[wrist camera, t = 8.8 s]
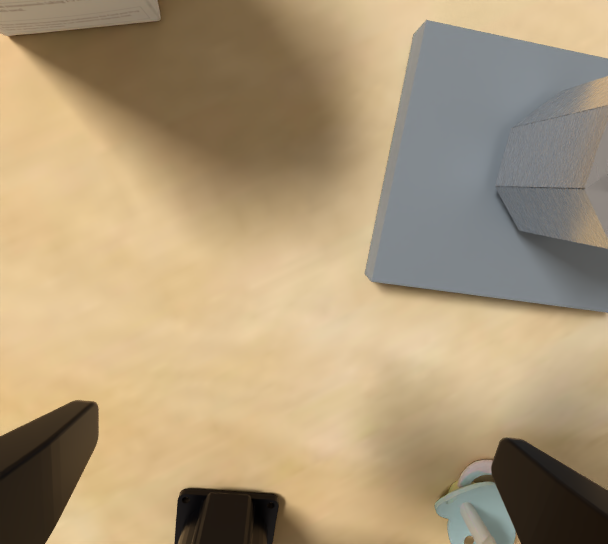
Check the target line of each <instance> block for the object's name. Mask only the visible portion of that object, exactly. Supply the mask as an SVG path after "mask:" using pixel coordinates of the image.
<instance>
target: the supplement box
mask: <svg viewBox="0 0 608 544" xmlns="http://www.w3.org/2000/svg"><path fill="white" fill-rule="evenodd" d="M160 19H161V16H160V10H159V5H158V0H0V33H1V34H3V35H5V36H12V35H22V34H35V33H45V32H54V31H64V30H74V29H84V28H93V27H103V26H113V25H122V24H132V23H141V22H151V21H159V20H160Z"/></svg>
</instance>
